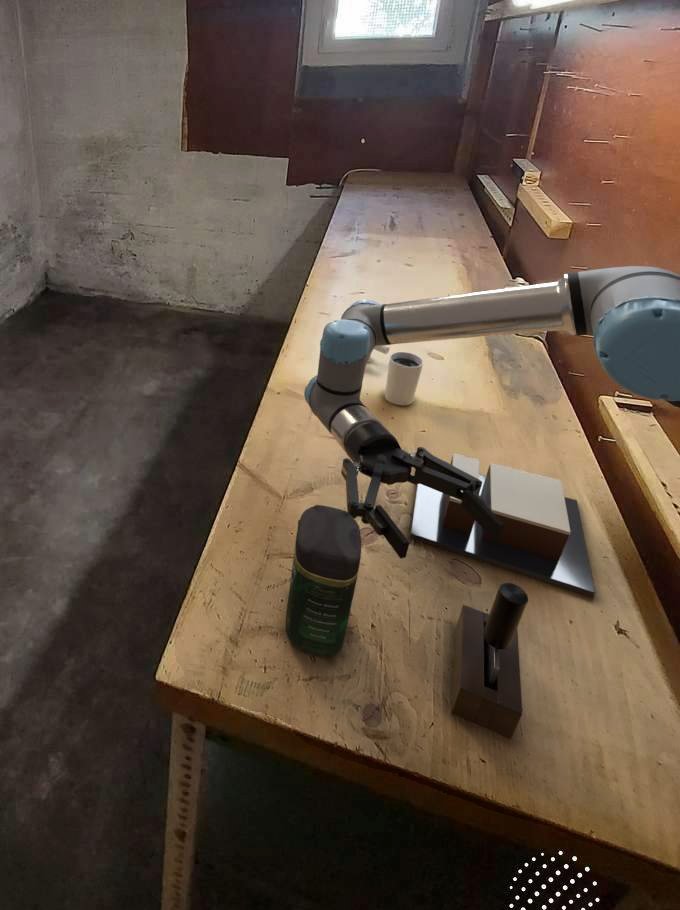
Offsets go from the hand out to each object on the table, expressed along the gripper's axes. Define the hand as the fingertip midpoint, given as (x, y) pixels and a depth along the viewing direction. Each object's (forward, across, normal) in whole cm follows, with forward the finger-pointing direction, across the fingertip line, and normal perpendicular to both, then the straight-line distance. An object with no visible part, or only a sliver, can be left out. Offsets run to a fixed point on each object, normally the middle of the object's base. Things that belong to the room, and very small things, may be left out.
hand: (453, 541), depth 72 cm
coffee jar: (-2, +17, -14) cm, 22 cm away
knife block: (+9, 0, -14) cm, 17 cm away
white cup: (-48, -26, -14) cm, 56 cm away
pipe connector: (-65, -28, -14) cm, 72 cm away
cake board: (-13, -20, -14) cm, 28 cm away
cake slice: (-16, -16, -13) cm, 26 cm away
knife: (+9, 0, -14) cm, 17 cm away
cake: (-11, -23, -13) cm, 28 cm away
